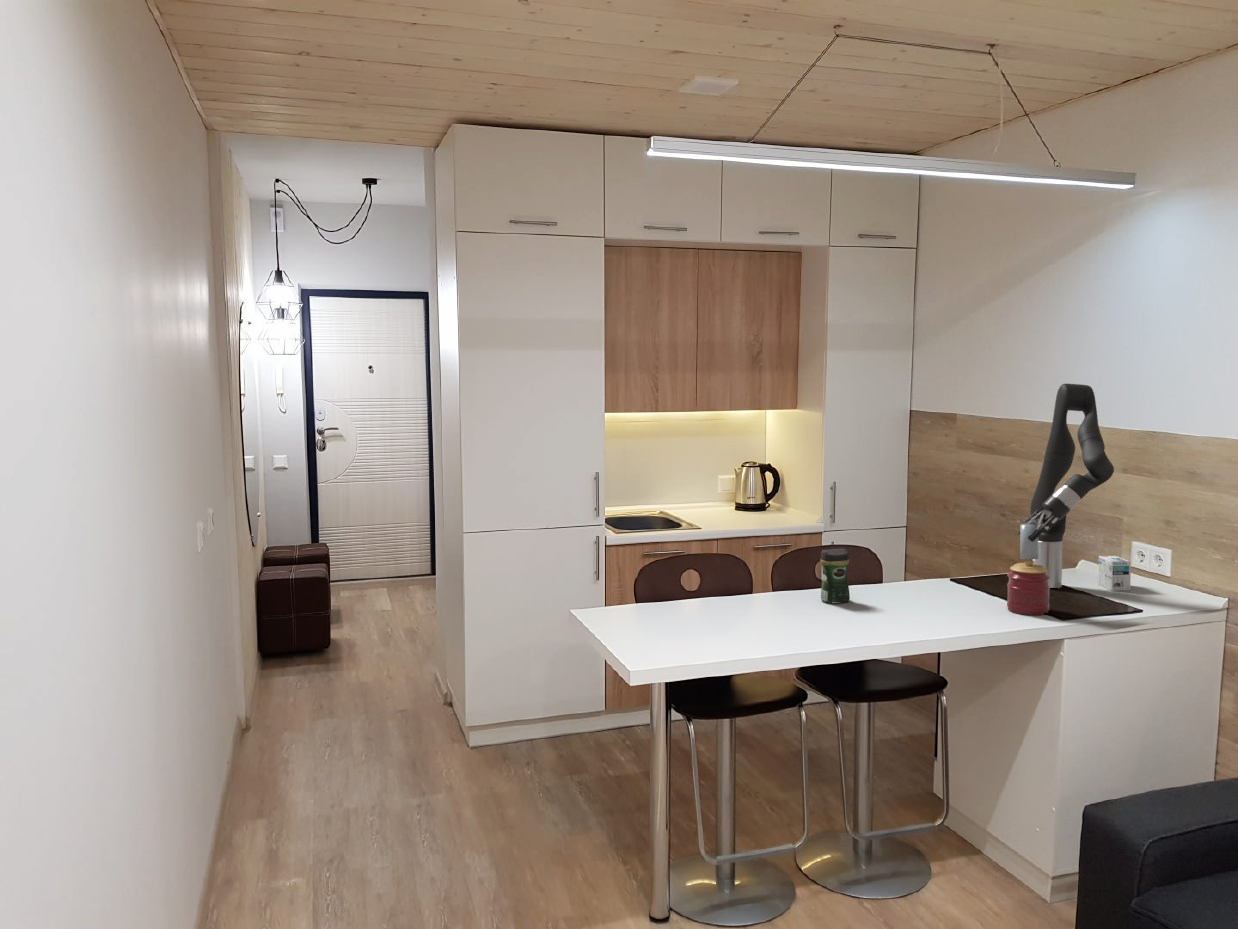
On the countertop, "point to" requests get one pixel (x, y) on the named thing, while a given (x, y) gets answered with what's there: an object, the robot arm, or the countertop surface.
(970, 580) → the countertop surface
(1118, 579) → the light bulb box
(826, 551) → the coffee jar
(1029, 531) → the grey rounded bar
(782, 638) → the countertop surface
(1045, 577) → the canister
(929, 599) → the countertop surface
